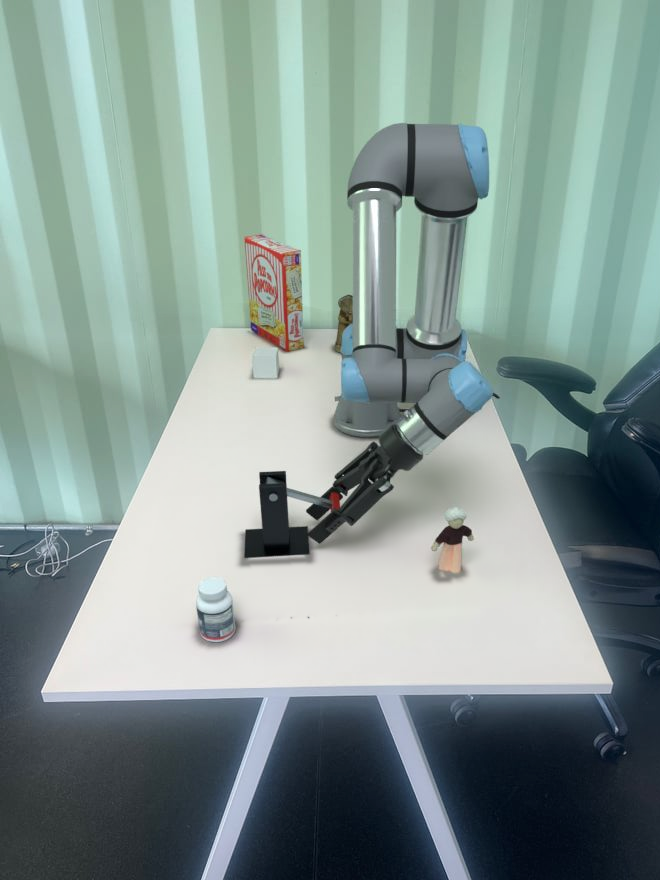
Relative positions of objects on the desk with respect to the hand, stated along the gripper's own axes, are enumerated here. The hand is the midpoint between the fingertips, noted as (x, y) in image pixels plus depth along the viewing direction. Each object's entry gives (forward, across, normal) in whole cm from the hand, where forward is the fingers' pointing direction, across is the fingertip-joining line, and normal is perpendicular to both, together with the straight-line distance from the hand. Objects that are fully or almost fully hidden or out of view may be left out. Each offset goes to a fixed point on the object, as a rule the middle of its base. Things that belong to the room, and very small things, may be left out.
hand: (312, 526), depth 131 cm
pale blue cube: (+9, -78, -3) cm, 79 cm away
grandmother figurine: (-13, +10, +19) cm, 25 cm away
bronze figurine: (-8, -92, +13) cm, 93 cm away
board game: (+6, -103, -1) cm, 103 cm away
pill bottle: (+14, +21, -8) cm, 26 cm away
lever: (-2, 0, -5) cm, 6 cm away
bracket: (+7, 0, -2) cm, 7 cm away
